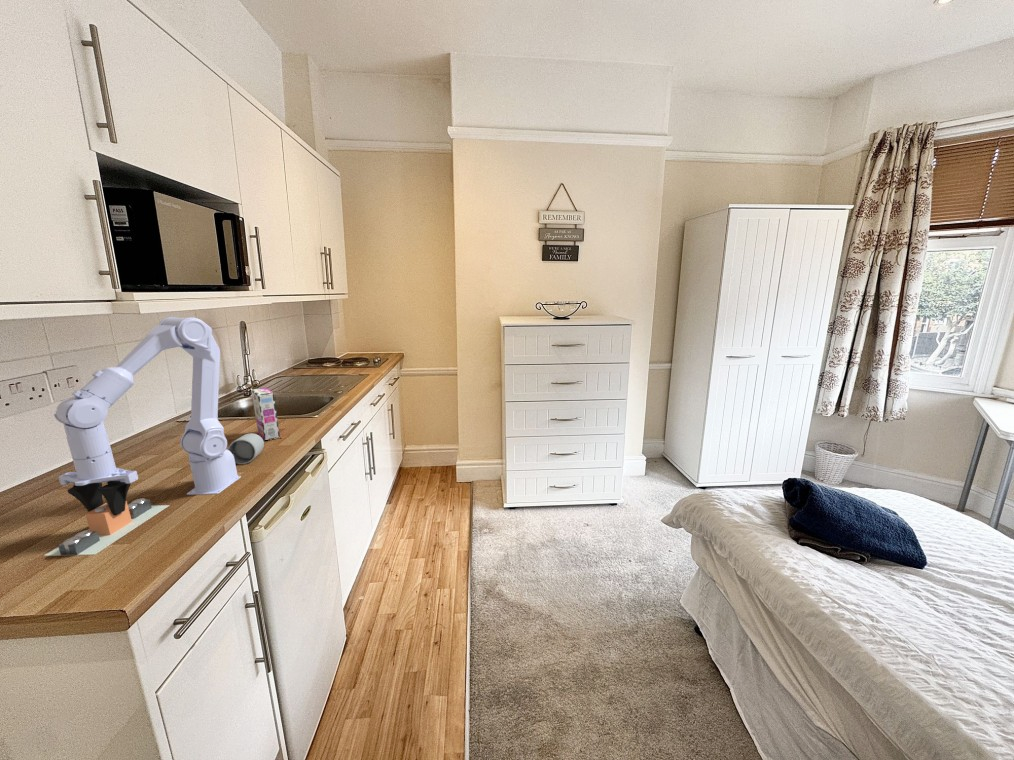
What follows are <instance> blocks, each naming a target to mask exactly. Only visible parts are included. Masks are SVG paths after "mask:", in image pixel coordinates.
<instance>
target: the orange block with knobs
mask: <svg viewBox="0 0 1014 760" xmlns="http://www.w3.org/2000/svg"><path fill="white" fill-rule="evenodd" d="M85 519H86V521H87V525H88V529H90V530H92V531H97V532H98V535H111V534H113V533H114V532H116V531H118V530H119V529H121V528H122V527H124V526H126V525H127V524H129V523H130V522H132V520H131V516H130V512H129V508H128V501H127V500H126V504H125V511H123V512H121V513H120V514H118V515H113V514H112V512H111V511H110V508H109V505H108V503H107V502H105V503H104V504H103V505H101V506H99V507H98V508H96V509H94V510H92V511H90V512H88V511H87V513H85Z"/></svg>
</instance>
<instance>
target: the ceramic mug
mask: <svg viewBox="0 0 1014 760" xmlns="http://www.w3.org/2000/svg"><path fill="white" fill-rule="evenodd" d="M264 447H265V440H264V439H263V438H262V437H261V436H260V435H259V434H257V433H251V432H249V433H245V434H244V435H241V436H240V437H239V438H238V437H237V438H236V439H235V440H233V441H232V442H231V443H230V444H228V446H227V450H229V451H230V452H231V453H232V454H233V456H234V459H235V464H239V465H247V464H249V463H251V462H253V460H255V459H256V457H257V456H259V455H260V453H261V452H262V451H263V449H264Z"/></svg>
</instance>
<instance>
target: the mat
mask: <svg viewBox="0 0 1014 760" xmlns="http://www.w3.org/2000/svg"><path fill="white" fill-rule="evenodd" d="M151 506H152V508H151V509H149V510H148V511H146V512H144V513H143V514H141V515H140V516H138V517H137V518H135V519H131V520H132V522H130V523H129V524H127V525H126V526H124V527H122V528H121V529H119V530H118V531H116V532H114V533H113V534H111V535H99V539H100V541H98V542H97V543H95V544H94V545H92V546H91V547H89V548H87V549H86V550H84V551H83V552H81V553H79V554H78V555H77V556H91V555H93V556H94V555H97V554H98V553H99V552H101V551H102V550H104V549H105V548H107V547H108V546H110V545H112V544H113V543H115V542H116V541H118V540H120V539H121V538H122V537H124V536H126V535H127V534H128V533H130V532H131V531H133V530H135V529H136V528H137V527H139V526H141V525H143V524H144V523H146V522H147V521H148V520H150V519H151V518H153V517H155V516H156V515H158V514H159V513H161V512H162V511H163V510H165V509H167V508H168V507H170V505H167V504H165V505H161V504H160V505H151ZM87 530H90V529H89V528H88V529H87ZM43 556H44V557H46V556H47V557H48V556H49V557H51V556H52V557H53V556H55V557H56V556H58V557H59V556H62V555H61V554H60V551H59V548H58V546H57V547H56V548H54V549H52V550H50V551H49V552H47V553H45V554H44V555H43Z"/></svg>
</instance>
